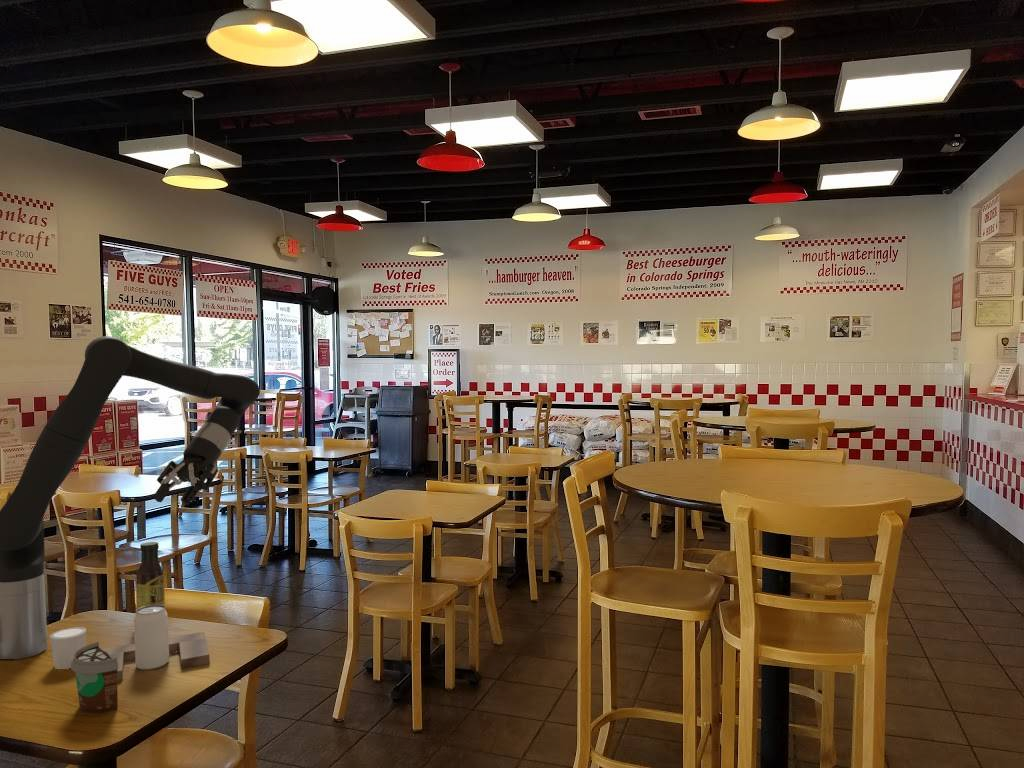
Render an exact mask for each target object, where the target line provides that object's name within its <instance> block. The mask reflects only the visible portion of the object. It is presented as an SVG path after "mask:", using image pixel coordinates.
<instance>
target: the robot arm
mask: <svg viewBox="0 0 1024 768" xmlns="http://www.w3.org/2000/svg"><path fill="white" fill-rule="evenodd" d="M123 377H131V378H135V379H139V380H145V381H147V382H151V383H154V384H157V385H159V386H163V387H165V388H168V389H170V390H173V391H177V392H179V393H183V394H187V395H189V396H193V397H197V398H201V399H203V400H212V399H217V398H220V399H219V401H218V402H217V405H216V406H215V408H214V410H212V412H211V413H210V414H209V415H208V417H207V419H206V420H205V422H204V423H203V425H202V426H201V427H199V429H198V430H197V432H196V433H195V434H194V436H193V437H192V438H191V440H190V442H189V443H188V444H187V446H186V447H185V449H184V451H183V459H182V460H181V461H180V462H179V463H178V462H177V463H176V462H175V461H174V460H171V461H170V462H168V464H167V465H166V467H165V468H164V469H163V471H162V472H161V473H160V475H159V476H158V477H157V479H156V482H157V483H159V485H160V486H159V487H158V488H157V490H156V491H155V493H154V495H153V499H154V500H155V501H156V502H157V503H163V501H164V499H165V498H166V497H167V495H168V493H170V490H171V489H172V488H173V487H175V486H180V485H181V484H182V483H187V482H189V483H190V486H188V487H187V489H186V490H185V492H183V495H182V497H181V498H180V502H182V503H183V504H184V505H186V506H187V505H188V506H189V505H190V504H191V502H193V500H194V498H195V496H197V494H198V493H199V492H201V491H202V490H204V491H207V490H209V488H210V487H211V485H212V483H213V481H214V479H215V478H216V476H217V474H218V472H219V469H218V467H216V465H215V464H216V463H217V462H218V460H219V459H220V457H221V455H222V454H223V452H224V450H225V449H226V447H227V445H228V444H229V441H230V439H231V438H232V437H233V435H234V433H235V432H236V430H237V428H238V426H239V424H240V422H241V419H242V417H243V416H244V414H245V413H246V411H247V410H248V409H249V407H251V405H252V404H254V403H255V402H256V401H257V399H259V397H260V393H261V389H260V386H259V384H258V383H257V382H256V381H255V380H254V379H252V378H250V377H247V376H244V375H242V374H241V375H240V374H233V373H232V374H231V373H224V372H221V373H220V372H215V371H211V370H209V369H204V368H201V367H199V366H195V365H191V364H187V363H183V362H178V361H175V360H171V359H167V358H162V357H159V356H155V355H153V354H149V353H147V352H145V351H141V350H139V349H137V348H134V347H132V346H131V345H128V344H127V343H125V341H123V340H121V339H119V338H116V337H113V336H109V335H105V336H100V337H97V338H95V339H92V340H91V341H90V342H89V343H88V345H87V346H86V348H85V351H84V361H83V363H82V367H81V369H80V372H79V373H78V376H77V378H76V380H75V382H74V385H73V386H72V387H71V389H70V391H69V392H68V393H67V395H66V396H65V397H64V399H63V400H62V401H61V402H60V404H59V405H58V406H57V407H56V408H55V410H54V411H53V413H52V414H51V415H50V417H49V418H48V420H47V422H46V424H44V427H43V428H42V431H41V433H40V434H39V436H38V437H37V440H36V443H35V444H34V447H33V449H32V450H31V452H30V455H29V456H28V459H27V462H26V463H25V467H24V469H23V471H22V474H21V477H20V478H19V481H18V483H17V484H16V487H15V488H14V490H13V491H12V493H11V494H10V496H9V497H8V499H7V500H6V502H5V503H4V504H3V506H2V507H1V508H0V659H2V660H3V659H14V660H20V659H24V658H25V659H26V658H29V657H33V656H36V655H39V654H41V653H43V652H44V651H45V650H47V648H48V633H47V631H48V630H47V629H48V627H47V609H46V608H47V605H46V588H45V587H46V585H45V569H44V568H45V566H44V565H45V553H46V552H45V527H44V526H45V525H44V524H45V522H44V516H45V514H46V512H47V509H48V507H49V505H50V503H51V501H52V499H53V497H54V495H55V493H56V492H57V491H58V489H59V487H61V485H62V484H63V482H64V481H65V479H66V478H67V477H68V475H69V474H70V473H71V471H72V470H73V468H74V467H75V465H76V464H77V463H78V461H79V459H80V457H81V455H82V454H83V452H84V450H85V448H86V446H87V444H88V442H89V440H90V438H91V436H92V434H93V432H94V430H95V428H96V426H97V423H98V420H99V418H100V416H101V414H102V411H103V408H104V406H105V403H106V402H107V400H108V399H109V396H110V395H111V393H112V391H114V389H115V387H116V386H117V384H118V383H119V381H120V380H121V379H122V378H123ZM176 476H177V477H176ZM205 481H206V482H205Z"/></svg>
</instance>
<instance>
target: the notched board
mask: <svg viewBox="0 0 1024 768" xmlns="http://www.w3.org/2000/svg"><path fill="white" fill-rule="evenodd" d="M168 640H169V654H172V652H174V653H177V652H176V651H179V657H180V658H179V659H180V667H181V669H182V670H183V669H189V668H194V667H199V666H200V667H201V666H206V665H210V662H211V661H210V651H209V645H208V643H207V642H208V641H207V637H206V633H205V631H199V632H193V633H187V634H182V635H177V636H171V637H170V636H168ZM100 649H101V650H103V651H105V652H107V653H108V654H109V656H110V657H111V658H112V659H113V658H117V661H118V669H117V682H120V681H123V678H124V665H125V662H128V661H133V660H135V642H134V643H129V644H128V643H127V644H124V645H116V646H111V647H105V648H100Z"/></svg>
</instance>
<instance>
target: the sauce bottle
mask: <svg viewBox="0 0 1024 768" xmlns="http://www.w3.org/2000/svg"><path fill="white" fill-rule="evenodd" d="M139 546H140V547H139V549H140V551H141V552H140V554H141V556H140V557H141V559H140V562H141V563H140V565H139V566H138V568H137V570H136V583H135V587H136V589H135V590H136V598H135V599H136V610H137V609H139V608H141V607H144V606H148V605H164V606H165V607H166V605H165V603H166V602H165V573H164V572H163V569H162V566H161V563H160V561H159V547H160V546H159V542H158V541H149V542H148V541H147V542H143V543H141V544H140V545H139Z"/></svg>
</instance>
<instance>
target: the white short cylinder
mask: <svg viewBox="0 0 1024 768" xmlns="http://www.w3.org/2000/svg"><path fill="white" fill-rule="evenodd" d="M86 639H87V629H86V628H85V627H81V626H80V627H79V626H77V627H68V628H63V629H60V630H59V629H58V630H57V631H54V632H52V633H51V634H50V635H49V643H50V644H49V645H50V650H51V655H52V663H53V668H54V667H55V668H57V669H67V670H69V669H68V668H71V662H72V658H73V657H74V654H75V652H76V651H78V650H79V649H81V648H83V647H85V646H87V645H86V644H87V643H86V641H87V640H86ZM55 668H54V669H55Z"/></svg>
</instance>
